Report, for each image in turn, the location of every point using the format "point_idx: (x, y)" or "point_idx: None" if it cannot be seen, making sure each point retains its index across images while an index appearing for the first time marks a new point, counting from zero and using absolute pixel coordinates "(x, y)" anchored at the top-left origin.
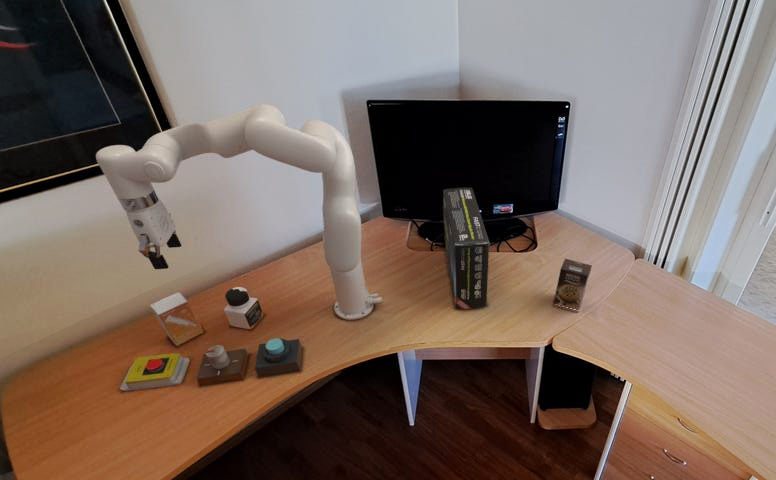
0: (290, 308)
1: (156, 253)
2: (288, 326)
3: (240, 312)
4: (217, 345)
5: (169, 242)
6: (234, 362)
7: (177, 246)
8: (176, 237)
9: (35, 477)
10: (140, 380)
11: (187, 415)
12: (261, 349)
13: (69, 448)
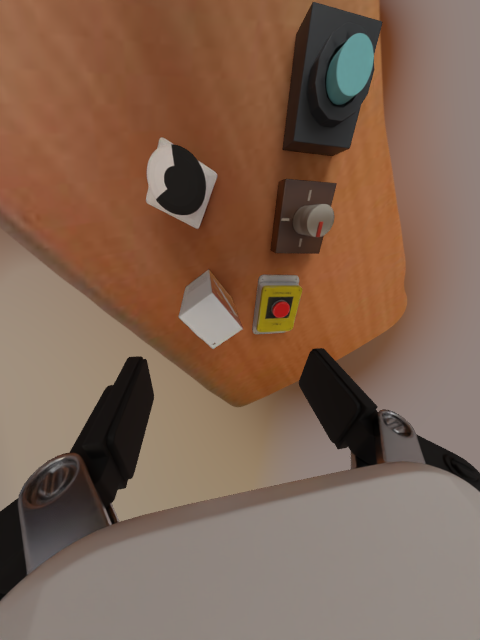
0: (144, 66)
1: (414, 444)
2: (215, 77)
3: (212, 184)
4: (308, 218)
5: (143, 415)
6: (311, 196)
7: (145, 370)
8: (115, 415)
9: (346, 351)
10: (295, 316)
11: (348, 255)
12: (310, 133)
13: (332, 342)
